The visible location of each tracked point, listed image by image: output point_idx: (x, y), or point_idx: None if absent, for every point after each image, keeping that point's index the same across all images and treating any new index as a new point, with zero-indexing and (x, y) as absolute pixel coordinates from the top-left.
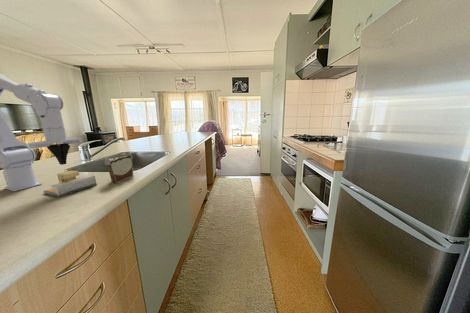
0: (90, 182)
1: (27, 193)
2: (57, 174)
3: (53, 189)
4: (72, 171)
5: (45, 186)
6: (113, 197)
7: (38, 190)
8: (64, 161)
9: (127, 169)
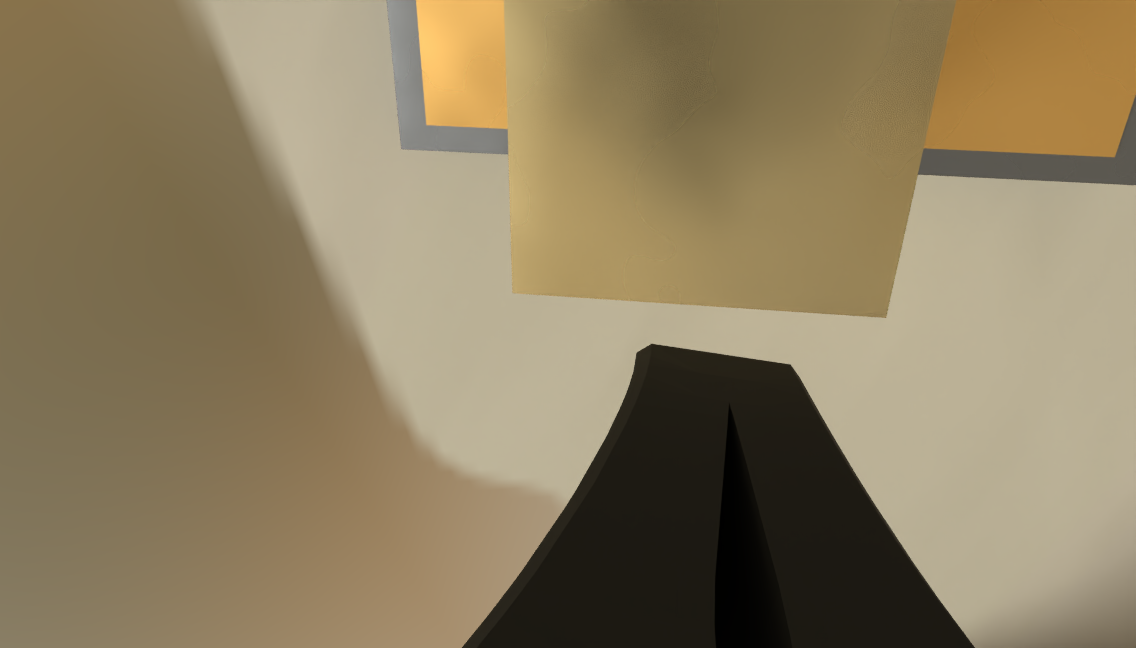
0: None
1: (1111, 468)
2: (885, 291)
3: (1045, 49)
4: (581, 96)
5: None
6: None
7: (967, 451)
8: (701, 405)
9: None
